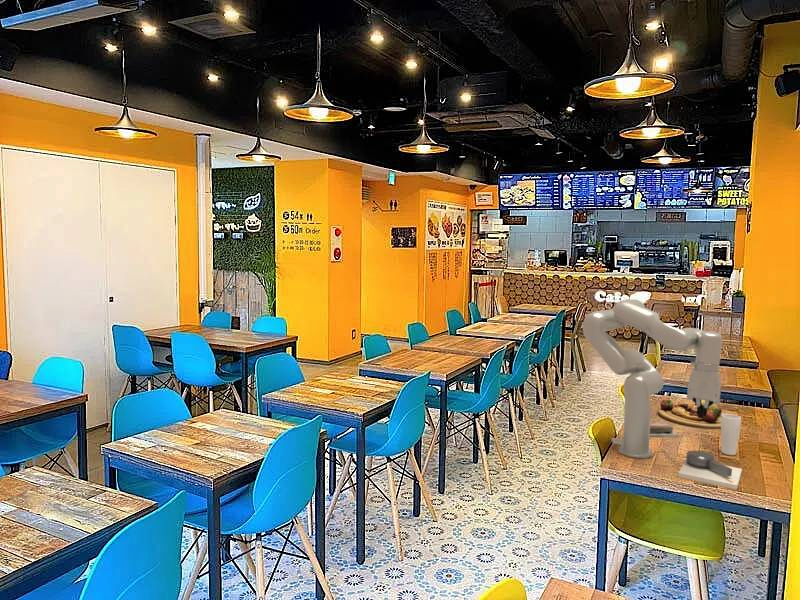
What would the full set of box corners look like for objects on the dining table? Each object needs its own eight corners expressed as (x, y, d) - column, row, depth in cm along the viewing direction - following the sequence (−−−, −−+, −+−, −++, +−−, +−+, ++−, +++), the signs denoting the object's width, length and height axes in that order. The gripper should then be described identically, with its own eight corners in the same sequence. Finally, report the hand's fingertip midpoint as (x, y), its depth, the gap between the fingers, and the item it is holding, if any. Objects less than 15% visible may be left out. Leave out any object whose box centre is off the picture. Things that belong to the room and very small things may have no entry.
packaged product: (636, 427, 252) (626, 420, 262) (635, 438, 253) (626, 430, 263) (678, 427, 253) (667, 420, 263) (678, 438, 254) (666, 431, 263)
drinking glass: (720, 449, 240) (723, 412, 239) (740, 453, 236) (743, 415, 234) (716, 453, 235) (719, 416, 233) (736, 457, 231) (739, 419, 229)
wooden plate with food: (645, 417, 283) (647, 400, 282) (674, 404, 305) (676, 389, 303) (717, 436, 260) (719, 417, 259) (743, 421, 281) (745, 404, 280)
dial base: (676, 476, 211) (677, 471, 211) (685, 461, 226) (685, 456, 226) (736, 489, 201) (737, 484, 201) (741, 472, 216) (742, 467, 216)
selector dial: (680, 460, 221) (681, 451, 221) (700, 458, 224) (700, 449, 224) (718, 479, 205) (719, 469, 204) (739, 476, 207) (740, 467, 207)
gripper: (681, 365, 213) (676, 415, 215) (729, 372, 204) (723, 424, 206) (686, 361, 219) (680, 410, 221) (732, 368, 210) (726, 419, 213)
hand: (701, 417), depth 214 cm, fingers closed
